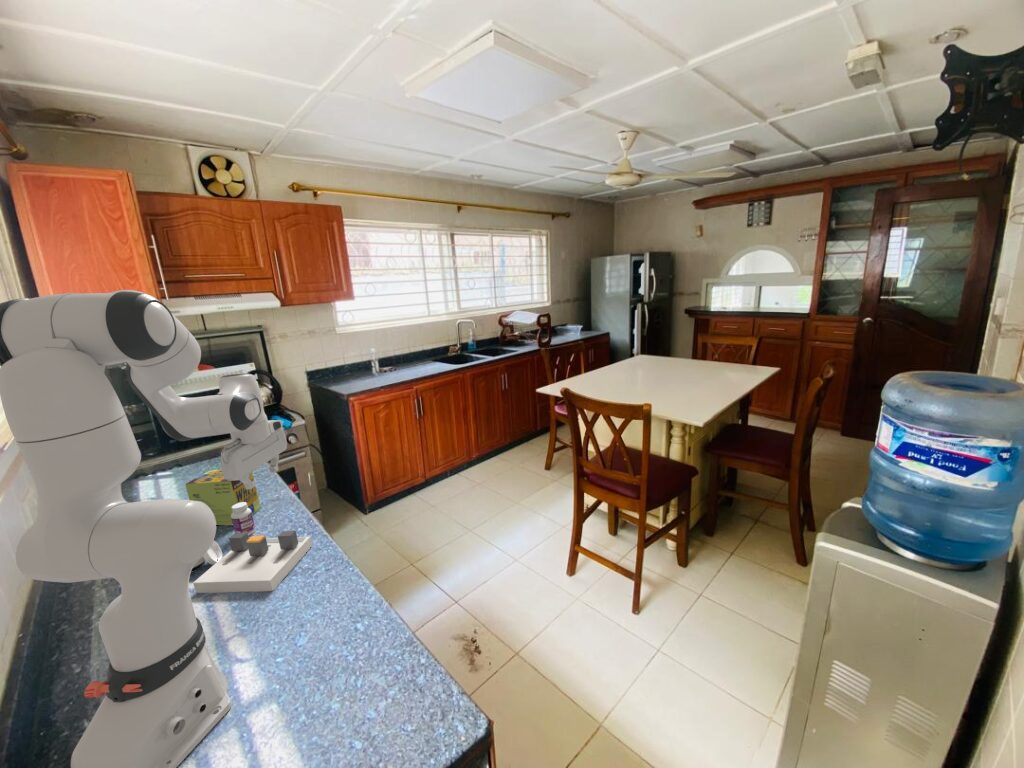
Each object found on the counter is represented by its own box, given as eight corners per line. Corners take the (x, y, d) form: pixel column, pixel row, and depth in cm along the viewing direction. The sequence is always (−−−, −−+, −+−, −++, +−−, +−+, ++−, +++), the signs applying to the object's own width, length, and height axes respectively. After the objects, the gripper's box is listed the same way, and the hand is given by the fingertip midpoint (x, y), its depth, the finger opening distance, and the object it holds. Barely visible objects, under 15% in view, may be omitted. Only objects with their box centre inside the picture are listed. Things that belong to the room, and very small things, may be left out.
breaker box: (272, 590, 100) (270, 579, 99) (196, 593, 101) (192, 582, 100) (312, 545, 117) (310, 536, 116) (246, 548, 119) (244, 538, 118)
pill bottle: (246, 538, 124) (238, 510, 122) (231, 537, 125) (224, 509, 123) (260, 528, 129) (253, 500, 127) (246, 527, 130) (239, 500, 128)
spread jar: (168, 567, 113) (156, 529, 110) (217, 547, 121) (207, 511, 118) (176, 586, 104) (163, 546, 102) (227, 563, 112) (217, 525, 110)
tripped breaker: (262, 555, 108) (259, 540, 108) (250, 556, 109) (246, 541, 108) (268, 550, 111) (265, 535, 110) (256, 550, 111) (252, 535, 110)
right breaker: (293, 548, 110) (290, 535, 110) (280, 549, 111) (277, 536, 110) (298, 543, 113) (295, 530, 112) (286, 544, 113) (283, 531, 112)
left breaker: (244, 550, 111) (241, 537, 111) (232, 551, 112) (228, 538, 111) (250, 545, 114) (247, 532, 113) (238, 545, 114) (235, 533, 113)
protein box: (242, 524, 132) (230, 480, 129) (196, 527, 133) (183, 483, 129) (262, 508, 142) (252, 466, 139) (219, 510, 143) (208, 469, 140)
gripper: (231, 447, 98) (245, 499, 102) (285, 418, 118) (296, 462, 121) (208, 448, 99) (222, 499, 102) (265, 419, 119) (276, 463, 122)
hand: (263, 479), depth 112 cm, fingers open, 8 cm apart
